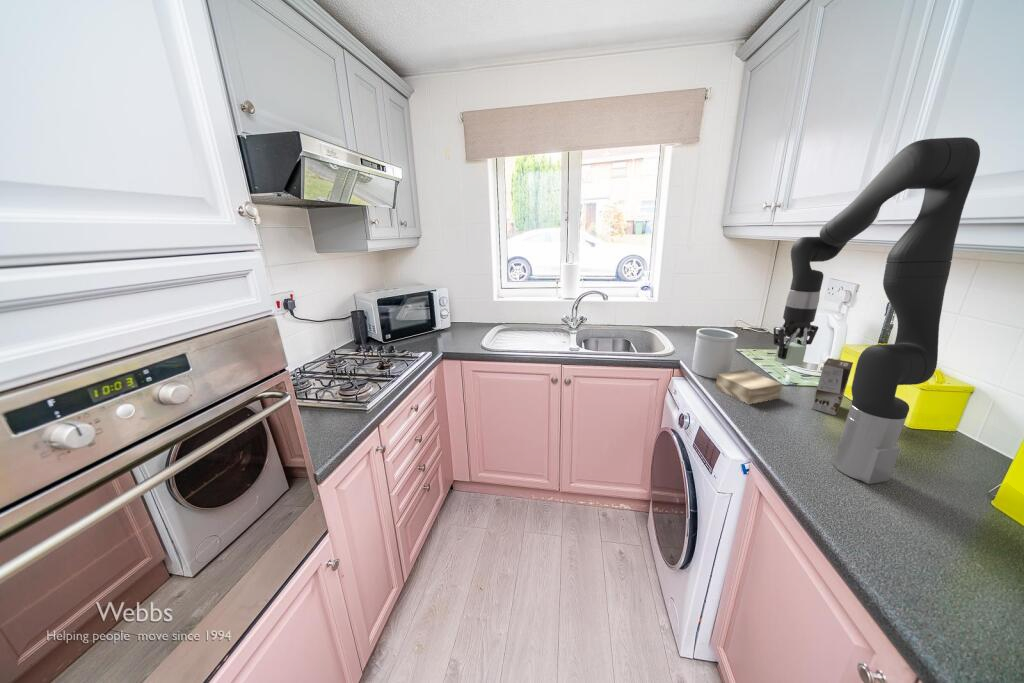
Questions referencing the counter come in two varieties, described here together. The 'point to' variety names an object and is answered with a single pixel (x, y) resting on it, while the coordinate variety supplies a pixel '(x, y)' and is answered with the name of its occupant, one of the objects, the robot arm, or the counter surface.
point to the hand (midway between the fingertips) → (789, 357)
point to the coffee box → (832, 385)
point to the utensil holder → (713, 351)
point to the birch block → (748, 386)
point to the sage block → (792, 355)
